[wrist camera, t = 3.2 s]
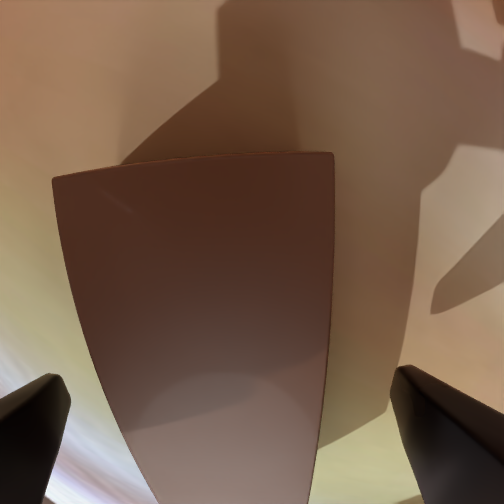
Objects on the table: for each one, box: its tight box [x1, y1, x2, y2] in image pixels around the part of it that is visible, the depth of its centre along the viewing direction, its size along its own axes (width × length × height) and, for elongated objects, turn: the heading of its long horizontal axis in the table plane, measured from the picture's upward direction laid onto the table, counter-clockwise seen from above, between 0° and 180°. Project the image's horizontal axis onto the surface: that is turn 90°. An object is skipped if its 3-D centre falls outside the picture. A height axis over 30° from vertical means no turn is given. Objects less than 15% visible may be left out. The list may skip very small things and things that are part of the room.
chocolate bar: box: [52, 151, 335, 504], centre depth 8 cm, size 4×11×3 cm, turn 3°
